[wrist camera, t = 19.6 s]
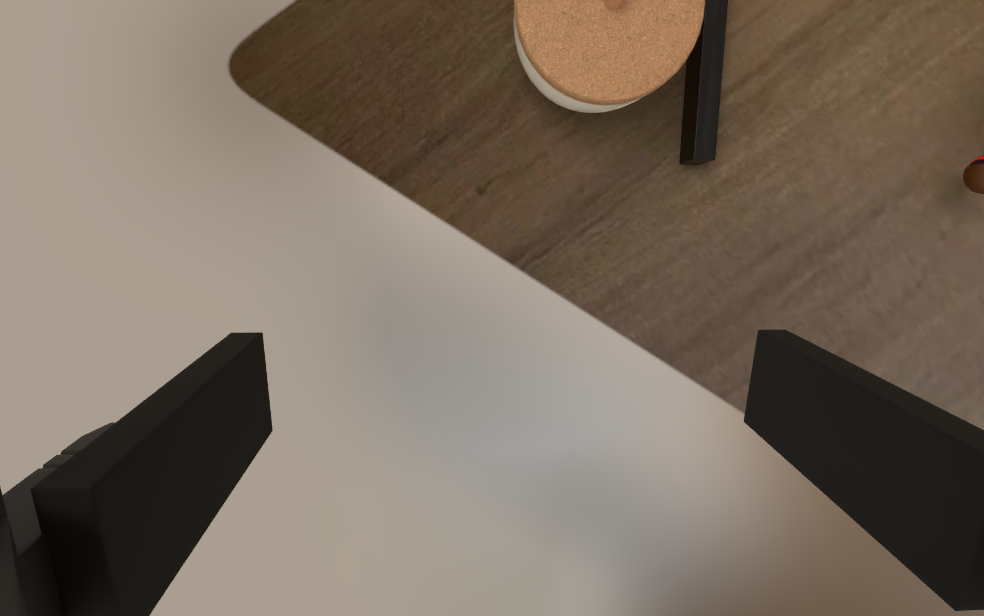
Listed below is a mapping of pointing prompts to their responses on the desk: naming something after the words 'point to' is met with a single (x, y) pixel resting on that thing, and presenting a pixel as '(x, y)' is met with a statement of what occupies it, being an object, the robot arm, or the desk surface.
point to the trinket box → (604, 47)
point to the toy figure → (975, 175)
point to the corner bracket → (704, 87)
